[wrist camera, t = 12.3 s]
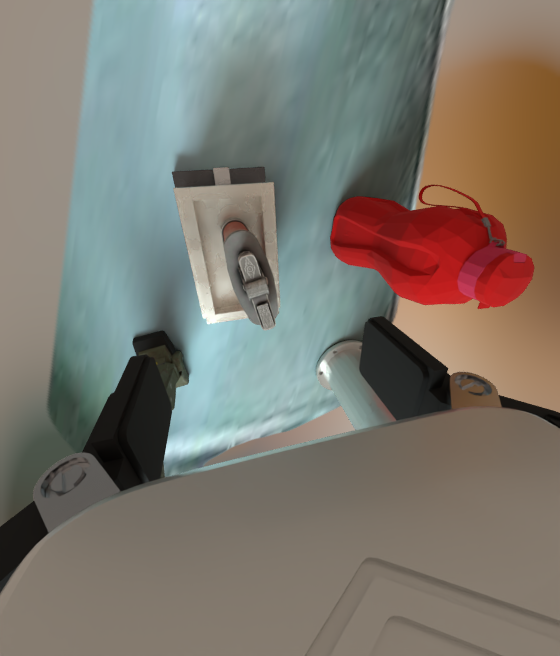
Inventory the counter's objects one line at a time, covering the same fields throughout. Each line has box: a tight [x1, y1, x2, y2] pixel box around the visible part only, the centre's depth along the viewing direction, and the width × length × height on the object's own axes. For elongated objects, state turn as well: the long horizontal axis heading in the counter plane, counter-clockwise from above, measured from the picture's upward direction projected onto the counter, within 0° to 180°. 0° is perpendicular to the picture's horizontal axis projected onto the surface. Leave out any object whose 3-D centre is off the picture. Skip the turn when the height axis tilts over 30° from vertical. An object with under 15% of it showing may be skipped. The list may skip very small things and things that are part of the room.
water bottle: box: [330, 185, 534, 309], centre depth 30 cm, size 9×11×25 cm
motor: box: [172, 167, 280, 324], centre depth 31 cm, size 11×16×14 cm
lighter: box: [221, 218, 278, 330], centre depth 23 cm, size 8×3×10 cm, turn 14°
